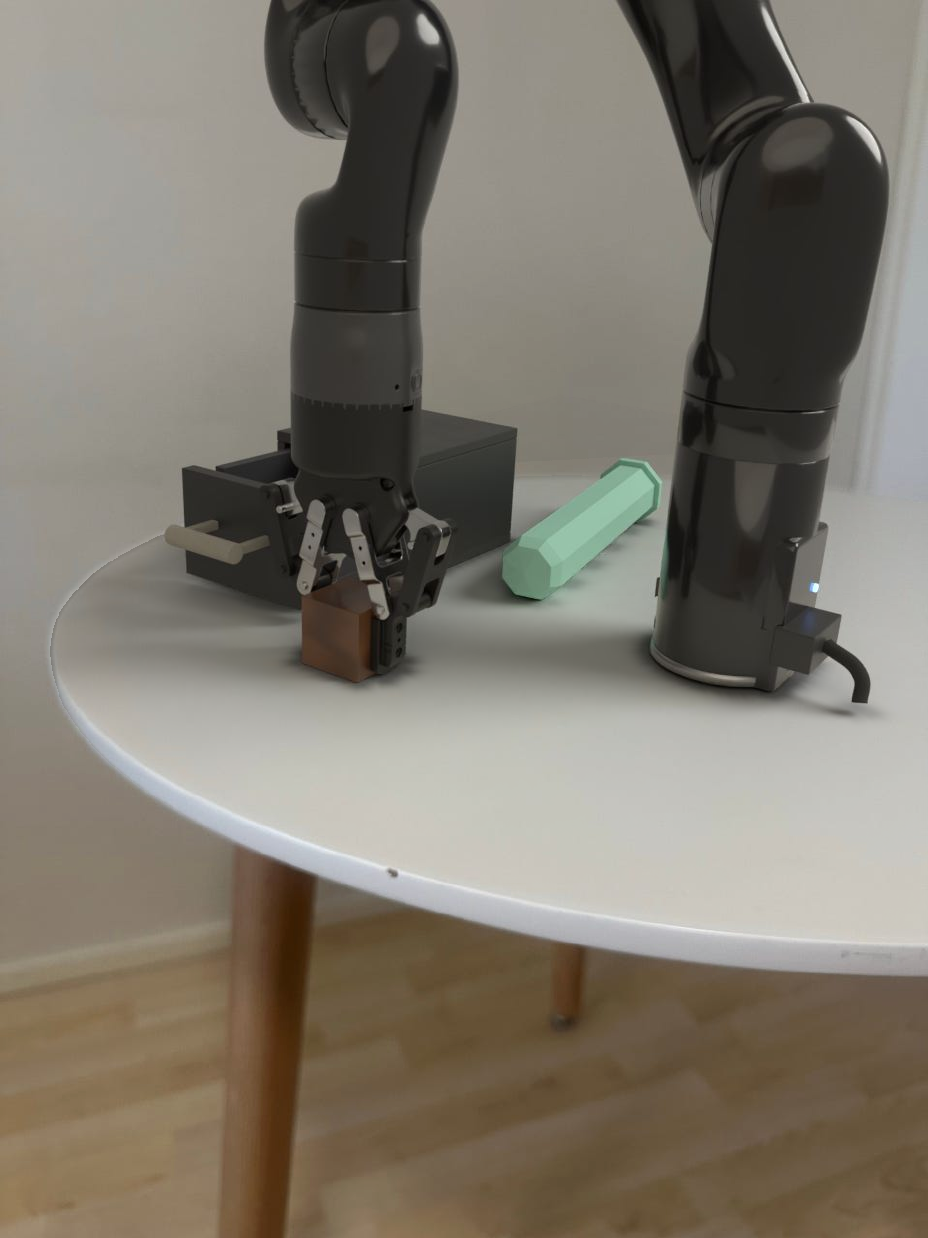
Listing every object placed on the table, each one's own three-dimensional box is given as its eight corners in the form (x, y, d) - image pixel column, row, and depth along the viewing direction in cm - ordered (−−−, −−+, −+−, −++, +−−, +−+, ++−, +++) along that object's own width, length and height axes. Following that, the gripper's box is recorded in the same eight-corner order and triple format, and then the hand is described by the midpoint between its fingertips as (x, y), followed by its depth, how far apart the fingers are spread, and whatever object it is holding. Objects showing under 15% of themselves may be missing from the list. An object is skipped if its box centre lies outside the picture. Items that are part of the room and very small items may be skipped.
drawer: (260, 630, 74) (257, 514, 71) (140, 588, 80) (133, 479, 77) (424, 562, 88) (428, 462, 85) (311, 531, 94) (311, 436, 91)
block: (403, 660, 73) (405, 593, 71) (357, 683, 70) (358, 614, 68) (348, 641, 75) (349, 576, 74) (301, 663, 72) (301, 595, 70)
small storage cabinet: (404, 587, 85) (407, 460, 82) (278, 549, 92) (276, 430, 88) (510, 541, 96) (518, 427, 93) (391, 510, 103) (394, 403, 99)
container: (548, 526, 80) (653, 449, 101) (475, 543, 83) (592, 465, 104) (572, 605, 81) (671, 513, 102) (500, 619, 84) (610, 527, 105)
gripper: (219, 375, 67) (228, 646, 73) (416, 415, 59) (407, 712, 66) (307, 361, 72) (308, 613, 79) (496, 395, 65) (480, 670, 72)
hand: (353, 656), depth 72 cm, fingers closed on block, 4 cm apart
